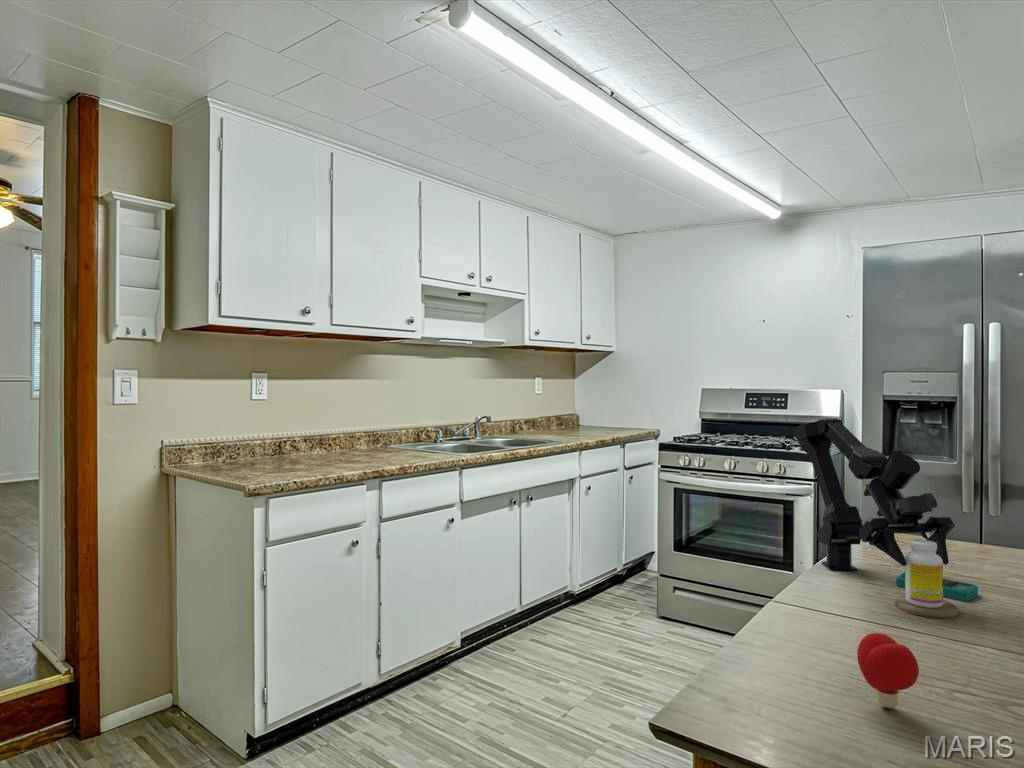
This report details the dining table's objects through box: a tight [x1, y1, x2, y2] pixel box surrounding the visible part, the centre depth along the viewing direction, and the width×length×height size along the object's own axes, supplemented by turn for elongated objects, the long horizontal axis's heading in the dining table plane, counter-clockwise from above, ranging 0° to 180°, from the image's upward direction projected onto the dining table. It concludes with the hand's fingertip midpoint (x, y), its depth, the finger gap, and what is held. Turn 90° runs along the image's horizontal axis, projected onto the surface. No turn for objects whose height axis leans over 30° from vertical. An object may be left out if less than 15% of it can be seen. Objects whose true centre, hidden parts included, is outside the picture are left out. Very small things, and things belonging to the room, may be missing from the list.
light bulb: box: [856, 632, 920, 711], centre depth 94 cm, size 9×7×10 cm
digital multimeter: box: [895, 572, 979, 602], centre depth 147 cm, size 7×15×3 cm, turn 38°
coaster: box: [894, 595, 959, 619], centre depth 135 cm, size 11×11×1 cm
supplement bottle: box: [904, 539, 944, 608], centre depth 135 cm, size 7×7×13 cm
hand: (926, 564), depth 135 cm, fingers open, 9 cm apart
